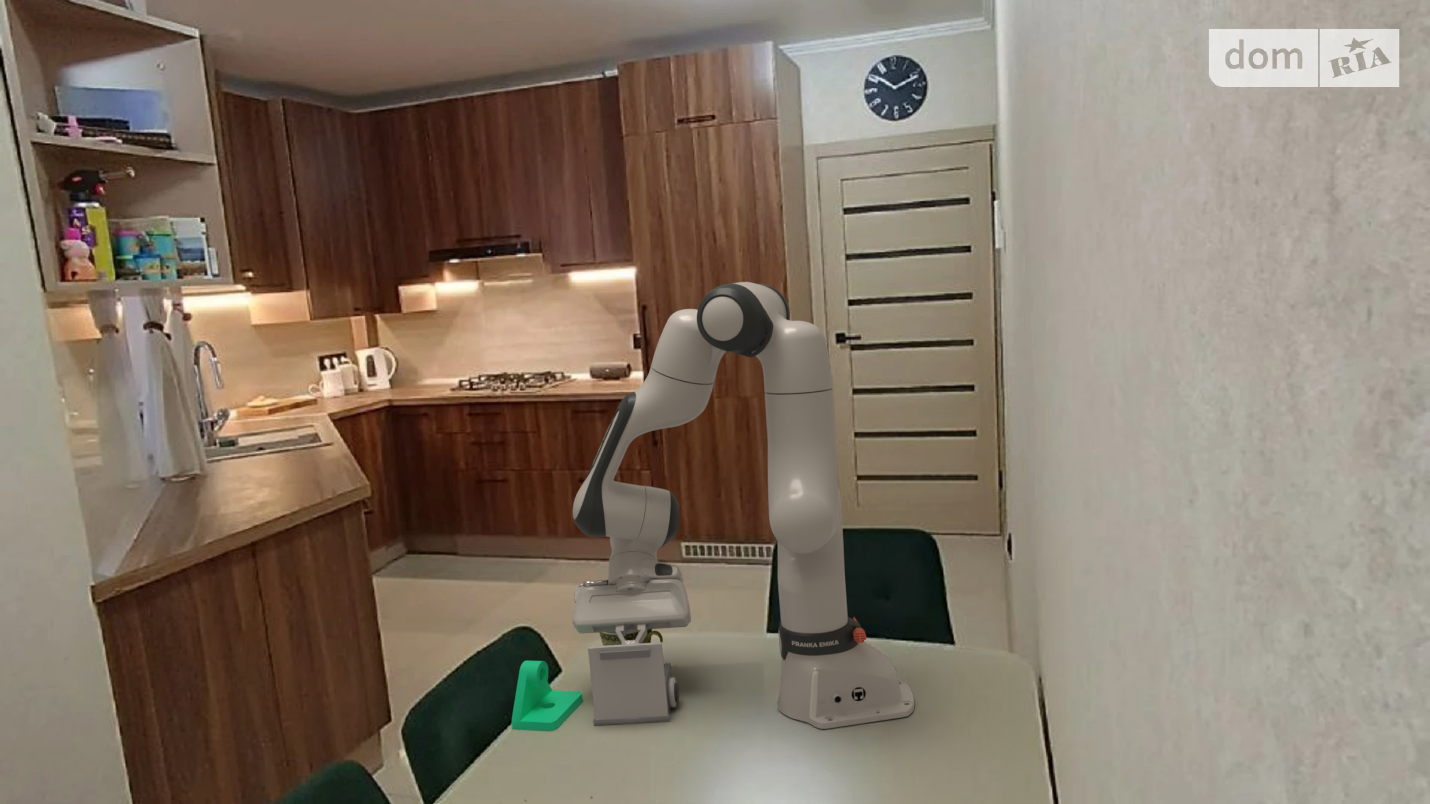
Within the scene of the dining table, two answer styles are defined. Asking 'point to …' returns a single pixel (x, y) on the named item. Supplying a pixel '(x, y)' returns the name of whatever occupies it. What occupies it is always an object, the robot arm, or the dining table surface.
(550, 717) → the camera mount
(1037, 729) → the dining table surface
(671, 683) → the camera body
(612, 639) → the ceramic cup
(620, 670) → the side door
